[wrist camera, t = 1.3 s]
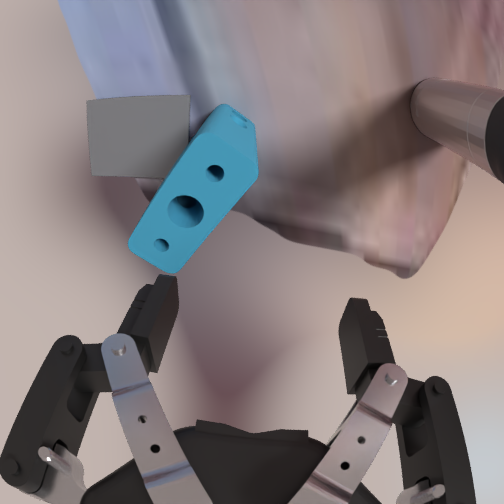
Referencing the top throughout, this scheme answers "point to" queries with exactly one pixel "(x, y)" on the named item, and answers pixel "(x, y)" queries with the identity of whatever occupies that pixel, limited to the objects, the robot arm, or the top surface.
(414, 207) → the top surface
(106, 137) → the mat
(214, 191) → the block
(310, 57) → the top surface
